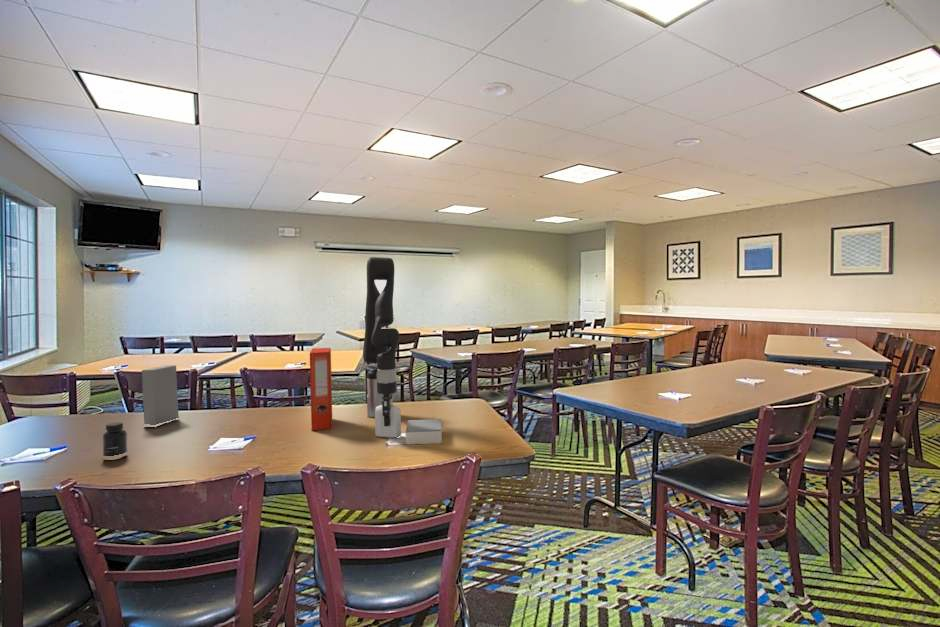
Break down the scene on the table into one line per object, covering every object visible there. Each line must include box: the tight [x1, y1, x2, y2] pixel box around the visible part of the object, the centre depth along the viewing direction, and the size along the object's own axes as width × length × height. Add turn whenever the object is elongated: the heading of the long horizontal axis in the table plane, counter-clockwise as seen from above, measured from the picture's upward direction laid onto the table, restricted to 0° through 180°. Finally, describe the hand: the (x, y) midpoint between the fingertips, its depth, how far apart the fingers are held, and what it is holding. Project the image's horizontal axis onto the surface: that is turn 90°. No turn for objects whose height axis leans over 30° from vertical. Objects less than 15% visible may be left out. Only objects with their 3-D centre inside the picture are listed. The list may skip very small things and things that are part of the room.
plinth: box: [405, 418, 443, 445], centre depth 184 cm, size 13×15×5 cm
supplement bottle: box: [102, 422, 128, 457], centre depth 168 cm, size 7×7×12 cm
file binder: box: [309, 347, 333, 431], centre depth 205 cm, size 8×17×32 cm, turn 15°
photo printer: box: [374, 405, 402, 438], centre depth 186 cm, size 10×4×12 cm, turn 72°
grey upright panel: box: [141, 364, 180, 425], centre depth 213 cm, size 14×6×25 cm, turn 172°
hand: (387, 423), depth 186 cm, fingers closed on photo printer, 5 cm apart
